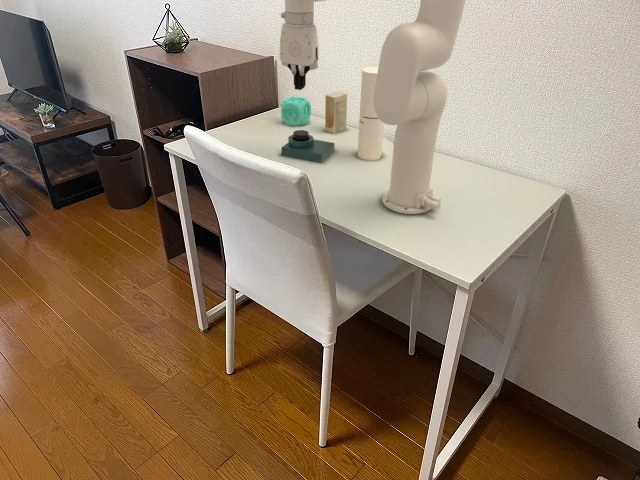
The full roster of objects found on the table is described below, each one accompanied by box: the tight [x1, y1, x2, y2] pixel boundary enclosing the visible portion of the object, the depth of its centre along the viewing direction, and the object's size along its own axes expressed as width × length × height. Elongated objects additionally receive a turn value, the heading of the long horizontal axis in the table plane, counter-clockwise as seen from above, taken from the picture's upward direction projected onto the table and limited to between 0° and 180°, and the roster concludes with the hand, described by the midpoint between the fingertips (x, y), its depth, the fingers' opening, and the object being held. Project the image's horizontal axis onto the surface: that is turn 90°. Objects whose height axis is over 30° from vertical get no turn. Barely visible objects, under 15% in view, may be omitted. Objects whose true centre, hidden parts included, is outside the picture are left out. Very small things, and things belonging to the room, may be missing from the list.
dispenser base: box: [281, 134, 336, 164], centre depth 148 cm, size 13×10×4 cm
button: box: [292, 129, 310, 141], centre depth 147 cm, size 5×5×2 cm
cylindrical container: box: [357, 66, 385, 161], centre depth 141 cm, size 7×7×25 cm
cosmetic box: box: [324, 91, 348, 134], centre depth 163 cm, size 6×4×12 cm
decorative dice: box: [280, 96, 312, 127], centre depth 170 cm, size 8×8×8 cm
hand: (299, 88), depth 140 cm, fingers closed
